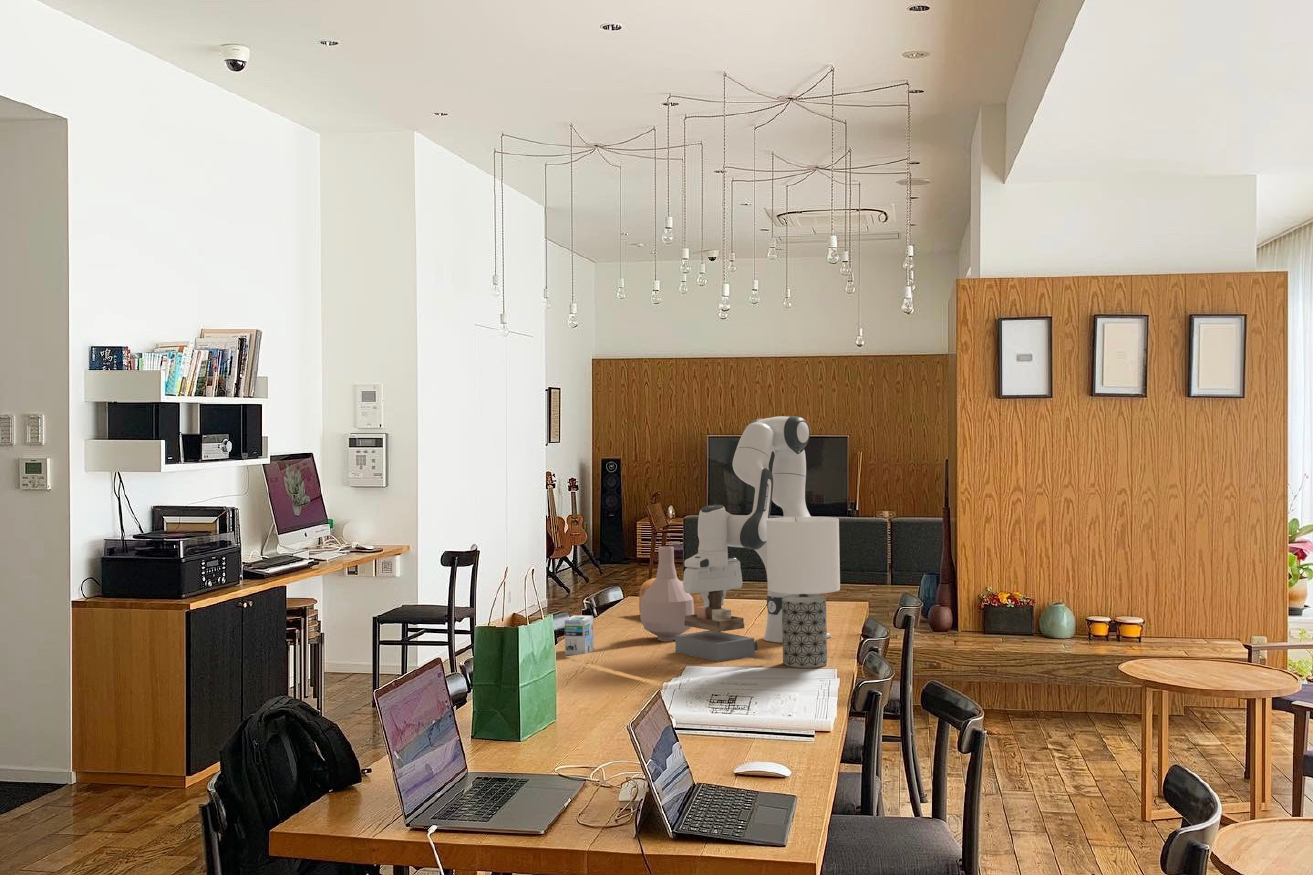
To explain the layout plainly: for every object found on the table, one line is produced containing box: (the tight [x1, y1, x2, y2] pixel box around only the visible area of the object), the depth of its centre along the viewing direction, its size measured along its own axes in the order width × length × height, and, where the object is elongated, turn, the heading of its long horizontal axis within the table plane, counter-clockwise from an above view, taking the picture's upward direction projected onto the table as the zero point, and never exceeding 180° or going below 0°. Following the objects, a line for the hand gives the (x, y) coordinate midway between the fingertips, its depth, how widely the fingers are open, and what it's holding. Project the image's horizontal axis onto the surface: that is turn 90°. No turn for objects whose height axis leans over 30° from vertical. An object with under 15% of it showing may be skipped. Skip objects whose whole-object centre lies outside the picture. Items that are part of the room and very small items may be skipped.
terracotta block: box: [697, 606, 706, 619], centre depth 353 cm, size 4×4×4 cm
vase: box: [639, 546, 694, 642], centre depth 382 cm, size 18×18×30 cm
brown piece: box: [684, 591, 745, 632], centre depth 350 cm, size 10×16×10 cm, turn 36°
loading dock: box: [675, 630, 759, 663], centre depth 350 cm, size 15×20×6 cm
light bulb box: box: [564, 614, 595, 656], centre depth 362 cm, size 11×7×11 cm, turn 169°
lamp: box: [766, 516, 841, 669], centre depth 336 cm, size 21×21×42 cm
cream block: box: [712, 607, 732, 621], centre depth 347 cm, size 4×4×4 cm
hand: (713, 606), depth 350 cm, fingers closed on brown piece, 3 cm apart
